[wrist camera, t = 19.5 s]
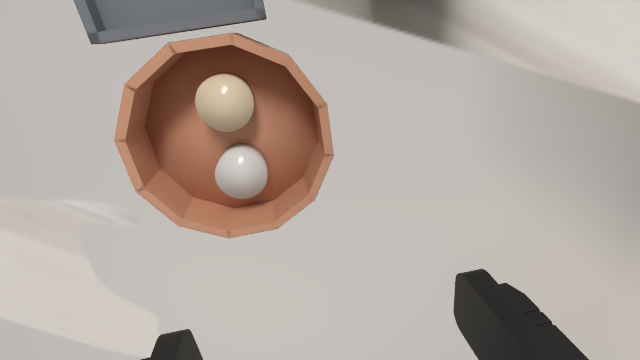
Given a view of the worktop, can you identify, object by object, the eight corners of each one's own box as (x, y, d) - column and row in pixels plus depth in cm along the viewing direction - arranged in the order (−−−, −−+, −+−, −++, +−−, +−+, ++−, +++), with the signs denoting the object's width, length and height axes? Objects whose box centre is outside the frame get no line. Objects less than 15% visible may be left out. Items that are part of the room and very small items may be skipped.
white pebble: (213, 147, 33) (208, 156, 31) (262, 138, 34) (261, 147, 31) (225, 191, 35) (222, 203, 33) (271, 182, 36) (271, 193, 33)
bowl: (111, 52, 29) (78, 56, 24) (308, 22, 31) (316, 20, 26) (175, 222, 37) (161, 251, 32) (332, 192, 38) (341, 216, 33)
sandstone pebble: (195, 75, 30) (188, 79, 28) (249, 68, 31) (247, 71, 28) (208, 127, 32) (203, 135, 30) (259, 120, 33) (258, 127, 30)
